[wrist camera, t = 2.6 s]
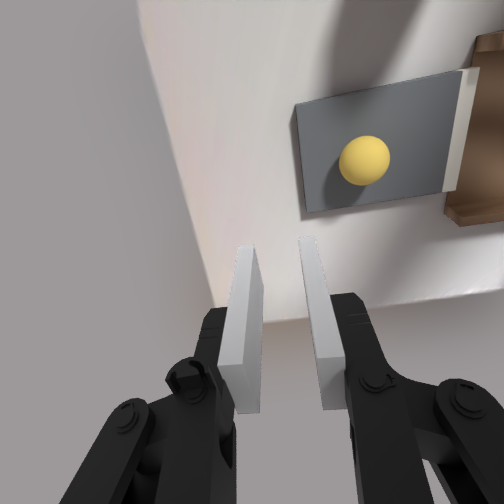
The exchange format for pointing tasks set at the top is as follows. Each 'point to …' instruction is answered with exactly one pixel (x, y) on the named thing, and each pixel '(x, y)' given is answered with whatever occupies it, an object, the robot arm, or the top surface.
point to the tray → (483, 142)
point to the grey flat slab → (388, 138)
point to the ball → (364, 160)
